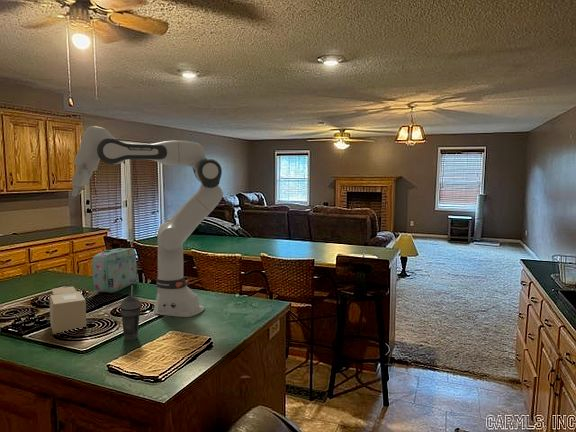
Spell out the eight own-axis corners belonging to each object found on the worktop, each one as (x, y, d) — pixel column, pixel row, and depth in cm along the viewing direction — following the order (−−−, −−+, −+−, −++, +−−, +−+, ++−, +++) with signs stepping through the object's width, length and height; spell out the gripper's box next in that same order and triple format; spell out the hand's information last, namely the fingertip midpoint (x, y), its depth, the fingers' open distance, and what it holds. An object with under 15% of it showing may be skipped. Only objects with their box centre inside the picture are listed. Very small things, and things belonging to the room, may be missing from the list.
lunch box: (108, 296, 195) (107, 253, 193) (89, 294, 197) (89, 252, 195) (139, 282, 221) (139, 244, 219) (122, 281, 223) (122, 243, 221)
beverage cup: (134, 332, 152) (134, 280, 150) (145, 337, 147) (145, 284, 145) (116, 337, 146) (115, 284, 144) (126, 343, 142) (126, 288, 140)
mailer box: (50, 324, 157) (49, 297, 156) (81, 319, 163) (80, 293, 162) (53, 334, 147) (52, 305, 146) (86, 329, 154) (85, 301, 152)
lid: (48, 291, 164) (48, 289, 164) (76, 287, 170) (76, 285, 170) (53, 306, 146) (53, 303, 146) (85, 301, 152) (85, 299, 152)
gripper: (91, 166, 156) (80, 199, 156) (96, 166, 175) (86, 196, 175) (74, 160, 154) (62, 194, 154) (81, 161, 173) (71, 191, 173)
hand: (75, 195), depth 165 cm, fingers open, 8 cm apart
